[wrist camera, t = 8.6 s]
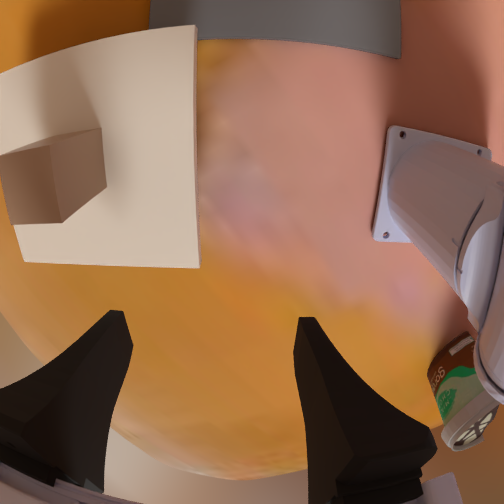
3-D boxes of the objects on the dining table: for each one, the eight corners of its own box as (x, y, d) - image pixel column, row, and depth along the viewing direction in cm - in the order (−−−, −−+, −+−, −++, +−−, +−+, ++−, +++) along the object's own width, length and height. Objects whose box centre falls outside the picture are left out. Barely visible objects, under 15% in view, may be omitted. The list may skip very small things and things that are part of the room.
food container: (420, 344, 26) (458, 424, 17) (468, 321, 25) (514, 391, 16) (415, 401, 32) (439, 464, 23) (455, 383, 31) (483, 441, 22)
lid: (197, 28, 11) (170, -5, 6) (201, 260, 17) (185, 324, 12) (3, 75, 11) (-59, 84, 6) (30, 255, 16) (-13, 301, 12)
